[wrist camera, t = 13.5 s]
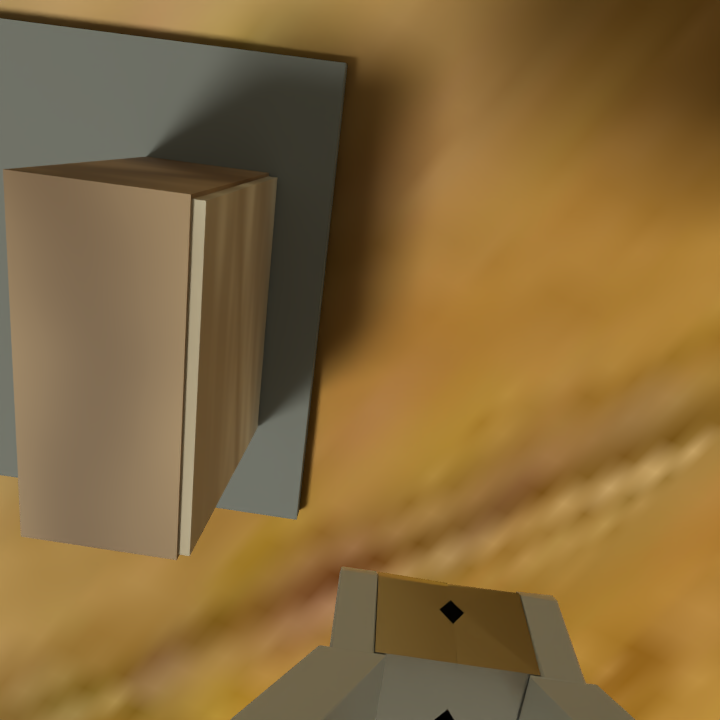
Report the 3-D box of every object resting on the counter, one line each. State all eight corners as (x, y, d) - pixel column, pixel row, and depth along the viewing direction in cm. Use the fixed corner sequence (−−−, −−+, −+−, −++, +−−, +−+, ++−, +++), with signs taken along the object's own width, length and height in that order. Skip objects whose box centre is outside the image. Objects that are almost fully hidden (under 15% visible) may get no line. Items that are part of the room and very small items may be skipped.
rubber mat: (347, 64, 21) (345, 63, 20) (299, 511, 26) (296, 519, 26) (-91, 8, 21) (-104, 4, 21) (-53, 458, 27) (-63, 465, 26)
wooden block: (278, 173, 22) (204, 196, 14) (257, 429, 24) (188, 561, 17) (146, 156, 22) (2, 169, 14) (141, 412, 25) (20, 536, 17)
